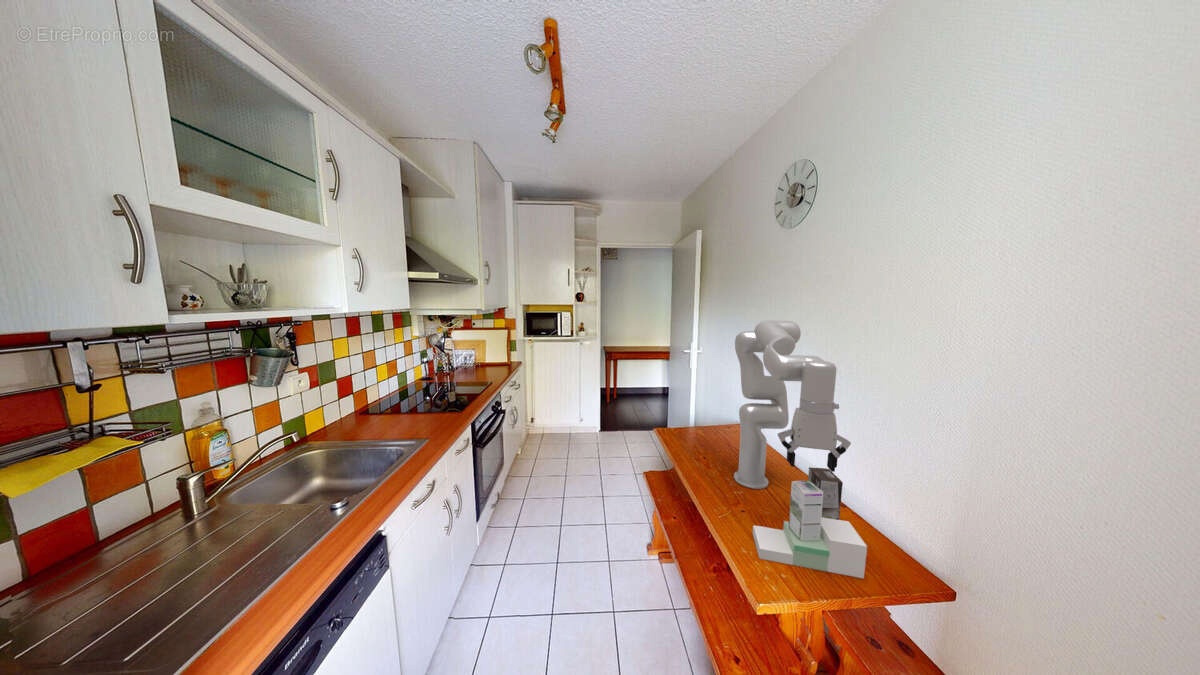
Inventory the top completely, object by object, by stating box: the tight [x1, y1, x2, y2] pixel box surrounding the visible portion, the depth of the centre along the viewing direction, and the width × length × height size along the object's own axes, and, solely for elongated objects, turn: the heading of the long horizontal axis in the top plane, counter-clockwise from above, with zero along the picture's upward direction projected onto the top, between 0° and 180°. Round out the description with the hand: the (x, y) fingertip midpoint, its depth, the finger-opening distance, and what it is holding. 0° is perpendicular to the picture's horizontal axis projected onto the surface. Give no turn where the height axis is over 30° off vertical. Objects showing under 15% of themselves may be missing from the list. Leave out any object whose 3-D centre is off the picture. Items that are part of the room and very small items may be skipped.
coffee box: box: [807, 467, 844, 520], centre depth 107 cm, size 9×6×16 cm
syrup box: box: [788, 480, 823, 541], centre depth 92 cm, size 6×6×14 cm
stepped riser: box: [752, 517, 868, 579], centre depth 93 cm, size 10×25×9 cm, turn 75°
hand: (810, 466), depth 91 cm, fingers open, 9 cm apart
